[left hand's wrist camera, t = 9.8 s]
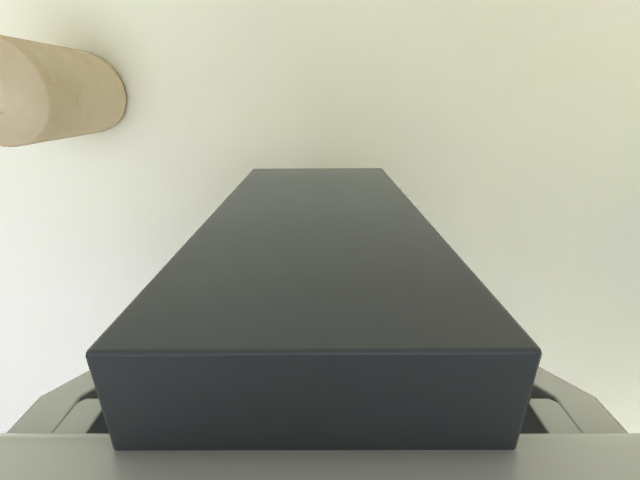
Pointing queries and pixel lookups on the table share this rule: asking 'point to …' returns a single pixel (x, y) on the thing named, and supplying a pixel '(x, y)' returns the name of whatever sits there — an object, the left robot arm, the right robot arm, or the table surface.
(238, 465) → the left robot arm
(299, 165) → the table surface
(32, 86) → the candle
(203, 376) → the box
